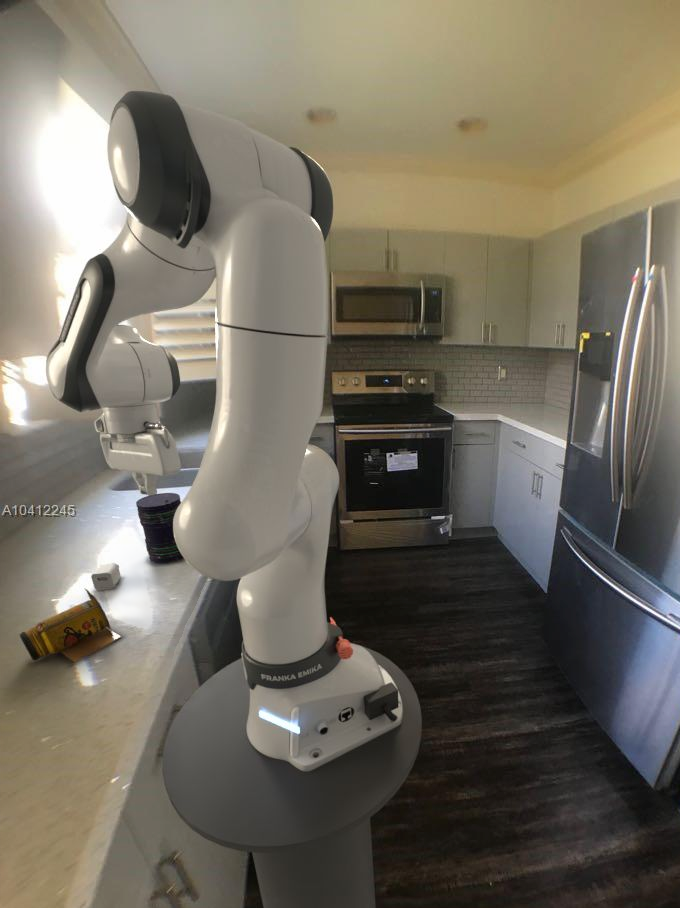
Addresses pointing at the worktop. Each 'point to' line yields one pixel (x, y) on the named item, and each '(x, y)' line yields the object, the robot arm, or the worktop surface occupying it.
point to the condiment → (65, 628)
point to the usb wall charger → (106, 576)
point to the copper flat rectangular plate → (90, 645)
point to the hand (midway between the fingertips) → (149, 494)
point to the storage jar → (160, 526)
